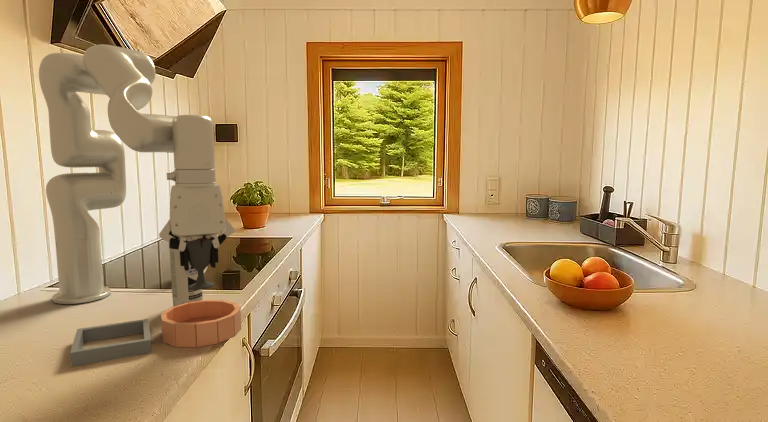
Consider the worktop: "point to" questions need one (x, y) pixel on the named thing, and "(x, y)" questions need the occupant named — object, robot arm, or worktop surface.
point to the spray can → (182, 279)
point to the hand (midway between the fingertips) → (199, 266)
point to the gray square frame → (112, 350)
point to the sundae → (199, 258)
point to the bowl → (200, 323)
